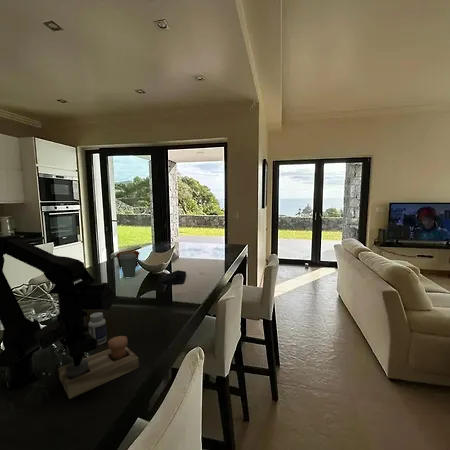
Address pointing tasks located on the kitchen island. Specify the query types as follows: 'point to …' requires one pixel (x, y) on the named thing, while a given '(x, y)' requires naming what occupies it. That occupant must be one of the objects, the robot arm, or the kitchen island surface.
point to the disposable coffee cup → (128, 264)
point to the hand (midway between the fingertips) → (77, 365)
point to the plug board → (98, 372)
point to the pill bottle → (98, 327)
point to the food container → (126, 252)
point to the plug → (77, 369)
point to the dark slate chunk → (173, 278)
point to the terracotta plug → (118, 347)
